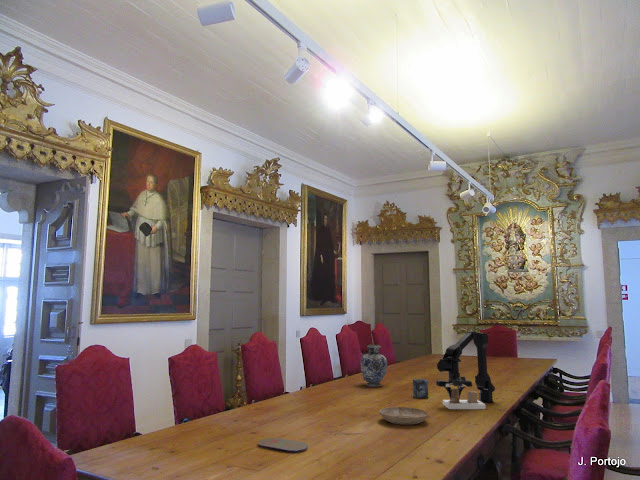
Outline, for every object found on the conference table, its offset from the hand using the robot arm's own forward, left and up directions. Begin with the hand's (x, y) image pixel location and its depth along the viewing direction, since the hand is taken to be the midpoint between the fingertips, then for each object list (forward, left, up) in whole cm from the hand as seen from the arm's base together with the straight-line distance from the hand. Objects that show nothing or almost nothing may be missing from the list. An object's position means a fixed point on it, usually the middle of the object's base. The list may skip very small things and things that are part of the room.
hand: (454, 399), depth 260 cm
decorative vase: (+36, -67, -4) cm, 76 cm away
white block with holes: (-5, 0, -4) cm, 6 cm away
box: (+13, -26, -4) cm, 29 cm away
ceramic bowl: (+35, +33, -4) cm, 48 cm away
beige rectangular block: (0, 0, -2) cm, 2 cm away
